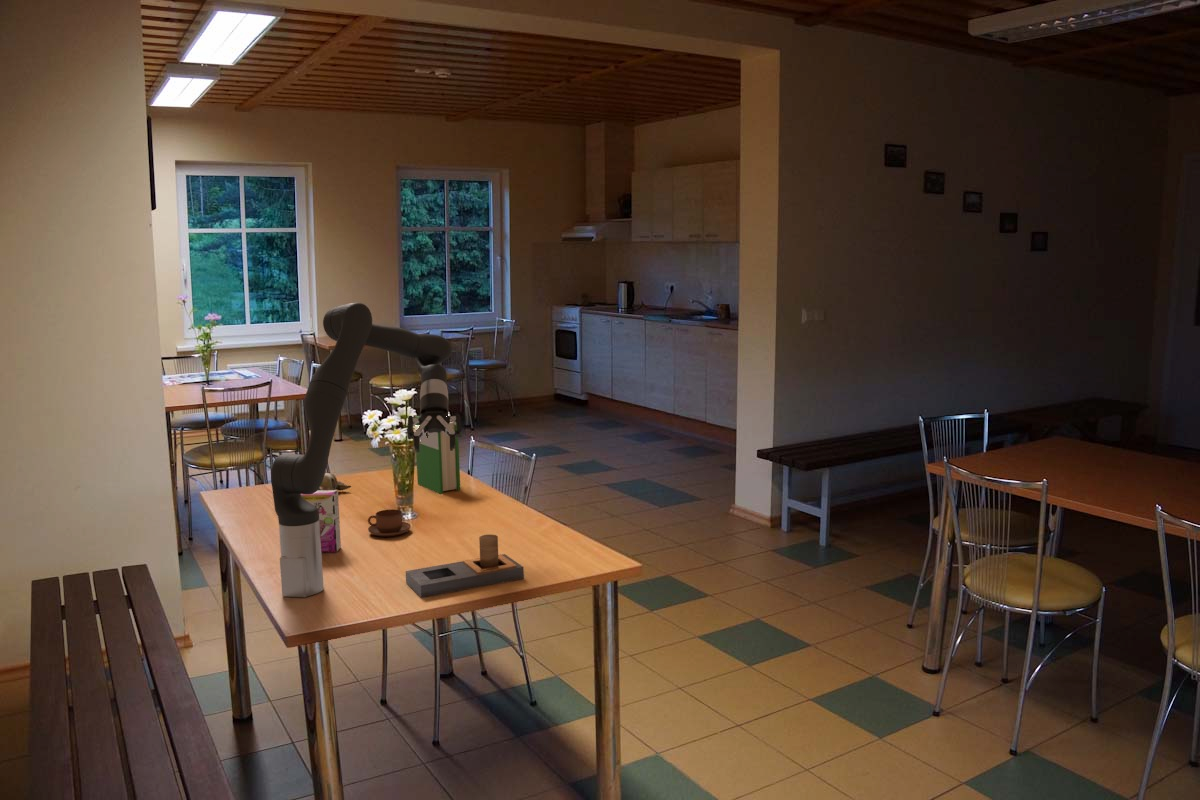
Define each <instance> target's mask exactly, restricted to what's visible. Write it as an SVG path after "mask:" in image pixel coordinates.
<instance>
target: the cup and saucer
mask: <svg viewBox="0 0 1200 800" xmlns="http://www.w3.org/2000/svg"><path fill="white" fill-rule="evenodd" d="M372 519H375V523H372V522H371V520H372ZM367 523H368V524H369V526H368V528H367V530H368V532H369V533H370V534H371V535H373V536H377V537H395V536H400V535H403V534H405V533H407V532H409V530H411V527H412V526H411V523H409V522H406V521H403V511H402V510H401V509H393V508H392V509H391V508H390V509H383V510H379V511H377V512H376V513H375V515H370V516H368V519H367Z"/></svg>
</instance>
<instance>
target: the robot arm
mask: <svg viewBox="0 0 1200 800" xmlns="http://www.w3.org/2000/svg"><path fill="white" fill-rule="evenodd" d="M322 319H323V321H322V326H323V329H324V332H325V334H326V335H327V336H328V337H329V338H330V339H331V340H333V341H335V342H336V343H335V345H334V347H333V349H332V350H331V352H330V353H329V354H328V355H327V357H326V358H325V359H324V360H323V361H322V362H321V364H320V365H319V367H317V369H316V371H314V372H313V375H312V377H311V379H310V381H309V384H308V387H307V390H306V393H305V396H304V399H303V410H304V413H305V418H306V420H307V423H308V427H309V431H310V433H309V435H310V436H309V437H310V438H309V442H308V445H307V449H306V452H305V454H297V453H296V454H295V453H282V454H279V455H277V457H276V458H274V460H273V462H272V466H271V470H270V471H271V473H270V481H271V489H272V490H271V491H272V497H273V504H274V505H273V506H274V511H275V514H276V516H277V519H278V520H277V521H278V531H279V533H278V535H279V547H280V558H279V568H280V580H281V581H280V582H281V583H280V584H281V597H291V598H292V597H293V598H308V597H310V596H313V595H316V594H319V593H320V592H323V590H324V588H325V587H324V571H323V557H322V555H323V554H322V553H321V539H320V523H319V510H318V508H317V507H316V506H314V505H313V504H311V503H309V502H307V501H306V500H305V499H304V498H303V497H302V496H301V494H313V493H315V492H316V491H317V490H318V489H319V488H320V486H321V484H322V482H323V479H324V475H325V471H326V472H327V470H326V469H327V466H328V460H329V457H330V452H331V447H332V443H333V441H334V440H333V439H334V435H335V432H336V428H337V425H338V421H339V419H340V416H341V413H342V410H343V408H344V405H345V401H346V398H347V395H348V392H349V388H350V385H351V384H350V383H351V381H352V378H353V375H354V373H355V370H356V368H357V363H358V361H359V358H360V356H361V354H362V353H363V352H362V351H363V349H364V347H365V346H367V347H371V348H377V349H380V350H383V351H386V352H390V353H394V354H396V355H399V356H403V357H406V358H409V359H415V362H416V365H417V368H418V370H419V374H420V392H419V411H420V412H419V415H418V416H419V418H415V417H414V416H412V415H409V416H407V426H406V435H407V436H406V437H407V439H408V440H413V449H414V451H416V450H417V452H420V438H421V437H422V436H424V435H425V434H426V433H427V432H429V433H433V432H437V433H441V431H443V432H444V433H445V434H446V435H448V436H449V437H450V451H453V449H455V438H457V437H458V438H462V436H463V429H462V428H463V427H462V421H461V420H462V419H461V414H459V413H456V414H455V415H452V416H451V415H450V414H449V391H448V381H447V379H448V376H447V370H446V369H445V367H444V366H442V365H440V364H442V363H444V362H445V361H446V360H448V359H449V358H450V357H451V356H452V353H453V348H452V347H453V346H452V344H451V342H450V341H449V340H448V339H447V338H445V337H443V336H442V335H439V334H431V333H417V332H413V331H411V330H408V329H405V328H402V327H398V326H393V325H382V324H375V323H373V317H372V312H371V310H370V308H369V307H368V306H367V305H366V304H365V303H362V302H351V303H349V302H348V303H346V304H342V305H338V306H336V307H333V308H331V309H329V310H328V311H327V312H326V313H325V314H324V316H323V318H322ZM448 414H449V416H448ZM446 416H447V417H446ZM450 421H452V422H453V424H455V425H456V426H457V430H456V431H454V430H453V429H452V428H451V427H450V425H449V423H450ZM416 423H419V424H420V426H419V428H418V429H417V431H416V432H415V431H414V427H415V425H416ZM413 431H414V432H413Z"/></svg>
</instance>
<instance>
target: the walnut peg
mask: <svg viewBox="0 0 1200 800" xmlns="http://www.w3.org/2000/svg"><path fill="white" fill-rule="evenodd" d="M478 538H479V540H478V541H479V558H480V568H481V569H485V568H490V567H496V566H499V561H498V555H499V541H498V540H499V538H498V535H496V534H484V535H481V536H479V537H478Z"/></svg>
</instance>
